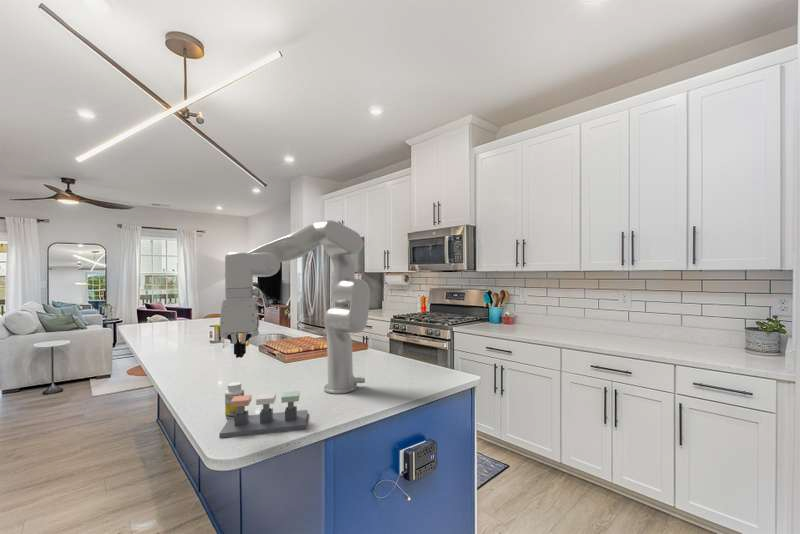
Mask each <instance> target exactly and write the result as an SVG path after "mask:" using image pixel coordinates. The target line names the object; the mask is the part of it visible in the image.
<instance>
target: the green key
mask: <svg viewBox="0 0 800 534" xmlns="http://www.w3.org/2000/svg"><path fill="white" fill-rule="evenodd" d="M299 401H300V390H294V391H284V392H282V395H281V404H282V403H287V407H288V410H294V406H295V403H297V402H299ZM294 402H295V403H294Z"/></svg>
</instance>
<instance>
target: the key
mask: <svg viewBox="0 0 800 534" xmlns="http://www.w3.org/2000/svg"><path fill="white" fill-rule="evenodd" d="M251 401H252V394H246V395H245V394H244V396H234V398H233V399H232V400H231V402H230V407H238V415H240V414H244V413H245V411H246V410H245V409H246V407H248V406H249V405H250V404H251Z"/></svg>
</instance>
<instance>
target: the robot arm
mask: <svg viewBox="0 0 800 534" xmlns="http://www.w3.org/2000/svg"><path fill="white" fill-rule="evenodd" d="M320 246H323V250H324V251H325V252H326V254H327V255H328V257H329V258H330V260H331V262H332V265H333V272H332V273H333V275H332V282H331V290H330V291H331V292H330V293H331V299H332V300H333V301H334V302H335V303H338V304H349V306H333V307H330V308H328V310H327V311H326V312H325V313H324V316H323V324H324V329H325V333H326V343H327V345H326V346H327V347H326V348H327V349H326V350H327V352H326V353H327V354H326V355H327V384H325V385H324V386H323V391H324V392H326V393H329V394H335V395H336V394H346V393H350V392H354V391H355V390H356V389H357V388H358V385H357V384H365V383H366V379H365V377H361V376H358V377H355V376H354V370H353V369H354V368H353V367H354V366H353V340H352V337H351V335H350V334H351V333H353V334H359V333H362V332H363V331H364V330H365V329H366V328H367V324H368V319H369V311H370V301H371V300H370V299H371V298H370V297H371V290H370V286H369V284H368V283H367V281H365V280H364V279H361V278H355V276H356V266H355V261H354V260H353V258H352V257H351V255H357V254H359V253H360V252H361V251H362V249H363V247H364V241H363V239H362V236H361V235H360V234H359V233H358V232H357V231H355V230H353V229H351V228H350V227H348V226H347V225H344V224H342V223H340V222H339V221H335V220H331V219H329V220H323V221H315V222H312V223H309V224H307V225H306V226H303V227H301V228H300V229H298V230H295V231H294V232H292V233H290V234H287V235H286V236H285V235H284V236H283V237H280V238H278V239H276V240H273V241H271V242H267V243H265V244H263V245H260V246H258V247H257V248H255V249H252V250H250V251H248V252H241V251H240V252H238V251H236V252H228V253H226V255H225V257H224V281H225V282H224V285H225V286H224V287H225V289H224V293H225V296H224V297H225V298H224V299H223V300H222V303H221V307H220V308H221V309H220V317H219V331H220V332H219V338H222V339H227V340H229V341H230V342H231V343H232V345H233V355H235V358H236V359H238V358H239V359H240V358H243V357H244V356H245V355H246V353H247V348H246V347H247V345H246V344H247V342H248V341H249V340H250V339H251V338H254V337H258V336H259V335H260V331H259V328H260V319H259V309H258V307H259V306H258V301H257V298H254V296H255V295H259V289H254V278H258V277H259V278H262V277H263V278H266V277H272V276H274V275H276V274H277V273H278V272H279V271H280V269H281V263H284V262H288V261H293V260H296V259H300V258H302V257H303V256H305V255H307V254H308V253H311V252H312V251H314V250H315V249H317V248H319V247H320ZM239 334H241V339H240V340H239Z"/></svg>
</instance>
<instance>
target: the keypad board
mask: <svg viewBox="0 0 800 534" xmlns="http://www.w3.org/2000/svg"><path fill="white" fill-rule="evenodd" d="M307 419H308V409H303V410H302V409H301V410H298V405H294V410H288V406H285V409H284V411H283V412H282V411H281V412H274V409H273V407H271V408H270V411H269V412H263V408H261V409H260V412H259V414H249V410H245V413H244V414H240V415H238V411H237V412H236V414H235V415H234V417H230V418H229V419H228V420H227V421H226V423H225V424H224V426H223V427H222V429H221V430H220V432H219V433H218V434H219V439H221V438H222V439H223V438H230V437H232V438H233V437H239V436H249V435H251V436H252V435H261V434H262V435H263V434H270V433H278V431H281V432H289V431H288V430H290V431H298V430H300V431H301V430H306V427H307V422H306V421H308V420H307Z"/></svg>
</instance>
